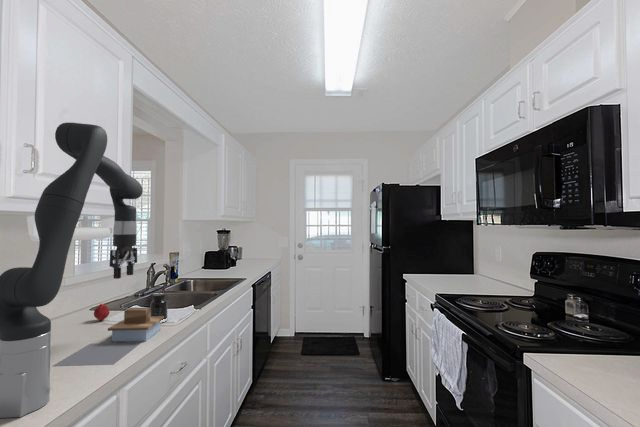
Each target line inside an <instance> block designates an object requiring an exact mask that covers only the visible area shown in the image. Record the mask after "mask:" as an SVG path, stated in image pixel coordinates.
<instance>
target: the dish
mask: <svg viewBox="0 0 640 427" xmlns="http://www.w3.org/2000/svg"><path fill="white" fill-rule="evenodd" d="M160 331H161V323H160V321H159V322H158V323H157V324H155V325H154V326H152V327H151V328H150V329H148V330H118V331H111V338H112V339H111V343H138V342H143V343H144V342H148V340H150V339H151V338H152V337H154V336H155V335H157V333H159V332H160Z"/></svg>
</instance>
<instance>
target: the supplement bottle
mask: <svg viewBox="0 0 640 427" xmlns="http://www.w3.org/2000/svg"><path fill="white" fill-rule="evenodd" d="M149 306H150V307H149V308H150V317H152V316H164V318H163V319H166V318H167V319H168V300H166V294H165V293H155V294H153V295H152V301H151V302H150V305H149ZM163 319H162V320H163Z"/></svg>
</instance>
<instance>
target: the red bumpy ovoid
mask: <svg viewBox="0 0 640 427" xmlns="http://www.w3.org/2000/svg"><path fill="white" fill-rule="evenodd" d="M109 315H110V308H109V306H107V305H106V304H104V303H103V302H100V304H99V305H98V306H97V307H96V308H94V311H93V316H94V318H96V320H99V321H100V322H103V321H104V320H105V319H107V318H108V316H109Z"/></svg>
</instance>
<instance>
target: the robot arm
mask: <svg viewBox="0 0 640 427" xmlns="http://www.w3.org/2000/svg"><path fill="white" fill-rule="evenodd" d="M54 136H55V138H54V139H55V143H56V144H57V147H59V149H60V150H61V151H62V152H64V153H65V154H67V155H68V156H69V157H71V158H73V159H74V160H75V161H74V162H73V164H72V165H71V166H70V167H69V168H68V169H66V171H64V172H63V173H62V174H61V175H59V176H58V177H56V178H55V179H54V180H52V182H50V183H49V184H47V186H46V187H45V188H44V189H43V191H42V193H41V195H40V198H39V200H38V202H37V206H36V208H35V211H34V224H35V227H36V232H37V235H38V240H39V245H38V251H37V254H36V258H35V260H34V262H33V265H32V267H25V266H22V267H12V268H9V269H7V270H5V271H4V272H3V273H1V274H0V418H1V419H2V418H22V417H23V416H25V415H27V414H30V413H32V412H35V411H37V410H39V409H41V408H43V407H44V406H45V405H47V404H48V403H49V401H50V394H51V393H50V392H51V390H50V389H51V388H50V387H51V348H52V347H51V344H52V343H51V342H52V340H51V338H52V321H51V319H50V318H49V317H48V316H46V315H44V314H43V313H41V312H40V311H39V309H38V308H39V307H45V306H47V305H49V304H50V303H51V302H52V301H54V299H55V298H56V296H57V295H58V293H59V291H60V288H61V286H62V283H63V278H64V272H65V270H66V269H65V268H66V263H67V259H68V255H69V252H70V251H69V250H70V248H71V244H72V241H73V236H74V233H75V230H76V228H77V225H78V222H79V220H80V218H81V215H82V212H83V208H84V206H85V201H86V198H87V195H88V193H89V190H90V187H91V184H92V180H93V178H94V176H95V174H96V175H97V177H99V178H100V179H101V180H102V181H103V182H104V183H105V184H106V186H108V187H109V194H110V197H111V201H112V205H113V209H114V217H113V218H114V220H113V228H112V229H113V230H112V235H113V236H112V246H113V247H116V249H111V250H110V252H109V268H112V269H113V279H116V280H119V279H121V277H122V267H123V264H124V263H126V275H127V276H133V275H134V266H135V264H138V247H135V246H136V245H137V232H138V230H137V208H136V206H134V205H128V204H126V203H125V201H124V200H137V199H139V198H141V197H142V195H143V191H144V190H143V187H142V184H141V183H140V182H139V181H138V180H137V179H136V178H134V177H133V176H131V175H129V174H128V173H126V172H125V171H124V170H123V169H122V167H121V166H120V165H119V164H118V163H116V162H115V161H114V160H112V159H111V158H108V157H107V156H105V152H106V149H107V147H108V134H107V132H106V130H105V128H103V127H102V126H100V125H97V124H89V123H79V122H63V123H60V124H59V125H58V126H57V127H56V130H55V134H54ZM37 307H38V308H37Z"/></svg>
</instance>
